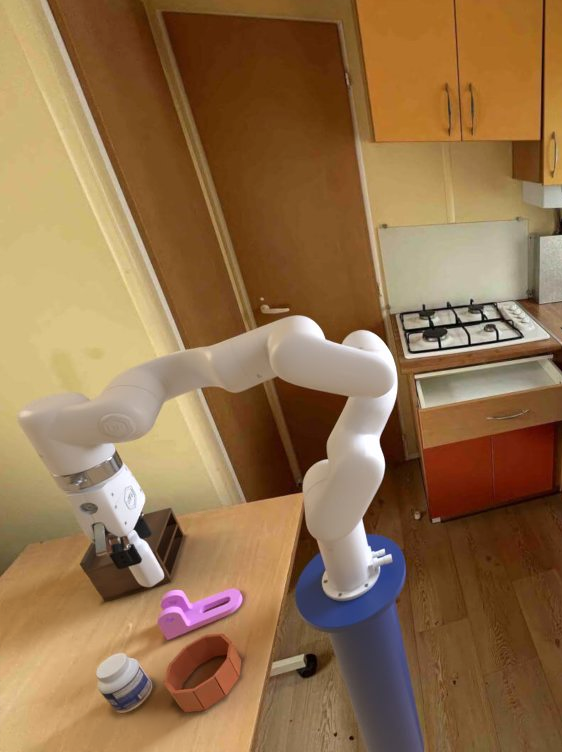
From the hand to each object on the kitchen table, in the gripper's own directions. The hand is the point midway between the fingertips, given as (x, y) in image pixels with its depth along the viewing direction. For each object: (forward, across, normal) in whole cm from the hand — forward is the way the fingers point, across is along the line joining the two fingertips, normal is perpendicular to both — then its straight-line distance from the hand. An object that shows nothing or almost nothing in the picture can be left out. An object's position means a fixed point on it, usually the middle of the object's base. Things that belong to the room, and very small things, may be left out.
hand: (135, 550), depth 73 cm
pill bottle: (+26, -8, +6) cm, 28 cm away
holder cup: (+25, -11, -6) cm, 28 cm away
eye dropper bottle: (+7, 0, 0) cm, 7 cm away
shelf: (+25, +24, +12) cm, 37 cm away
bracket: (+26, +5, -3) cm, 26 cm away
